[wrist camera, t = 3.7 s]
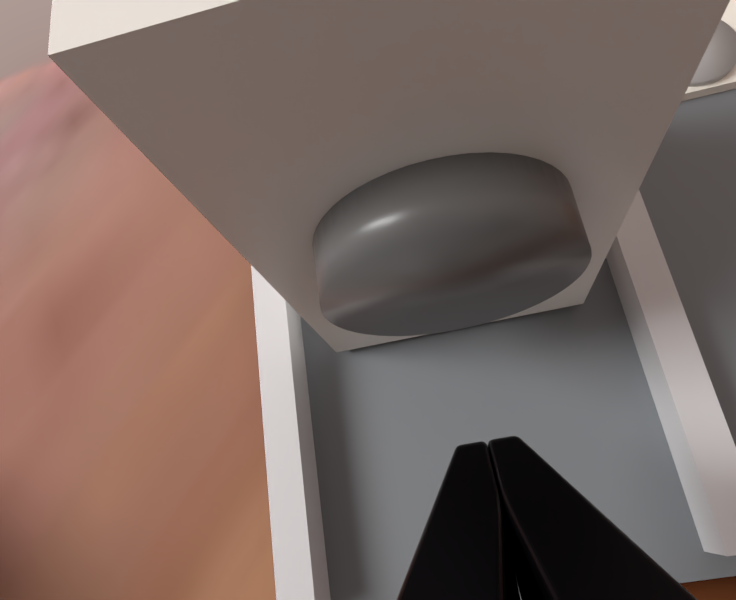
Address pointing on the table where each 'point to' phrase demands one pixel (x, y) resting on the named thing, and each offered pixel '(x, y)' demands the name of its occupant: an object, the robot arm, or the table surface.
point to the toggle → (397, 139)
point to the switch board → (532, 388)
